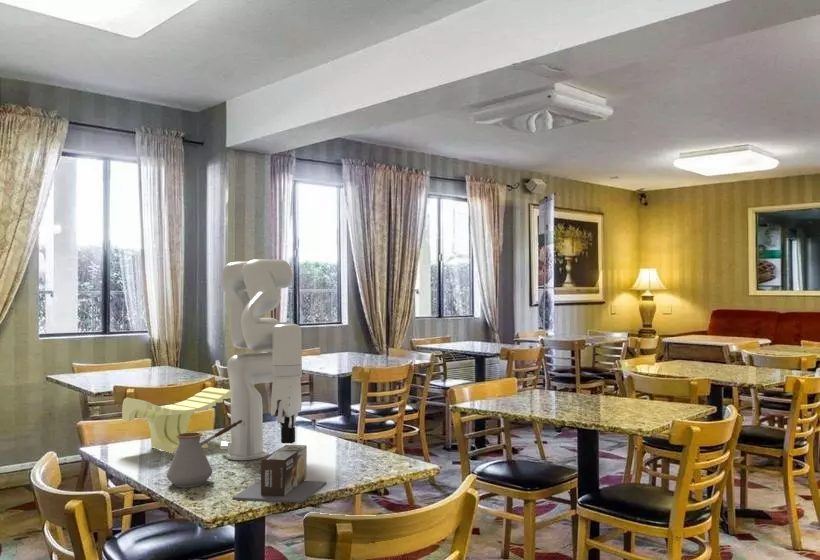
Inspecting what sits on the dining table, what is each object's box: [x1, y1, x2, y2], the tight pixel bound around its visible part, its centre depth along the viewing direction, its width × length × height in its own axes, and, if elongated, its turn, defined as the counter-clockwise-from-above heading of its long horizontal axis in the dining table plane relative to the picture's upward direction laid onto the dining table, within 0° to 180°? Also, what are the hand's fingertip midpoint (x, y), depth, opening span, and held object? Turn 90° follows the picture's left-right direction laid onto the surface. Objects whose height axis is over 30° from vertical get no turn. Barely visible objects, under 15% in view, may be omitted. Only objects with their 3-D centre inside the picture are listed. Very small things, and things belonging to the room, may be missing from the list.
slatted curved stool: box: [121, 386, 231, 455], centre depth 228 cm, size 30×16×18 cm, turn 138°
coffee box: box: [260, 444, 308, 496], centre depth 175 cm, size 9×6×16 cm
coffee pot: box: [166, 420, 245, 488], centre depth 185 cm, size 21×12×15 cm, turn 129°
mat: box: [231, 479, 327, 504], centre depth 173 cm, size 18×17×1 cm
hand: (288, 442), depth 178 cm, fingers closed
